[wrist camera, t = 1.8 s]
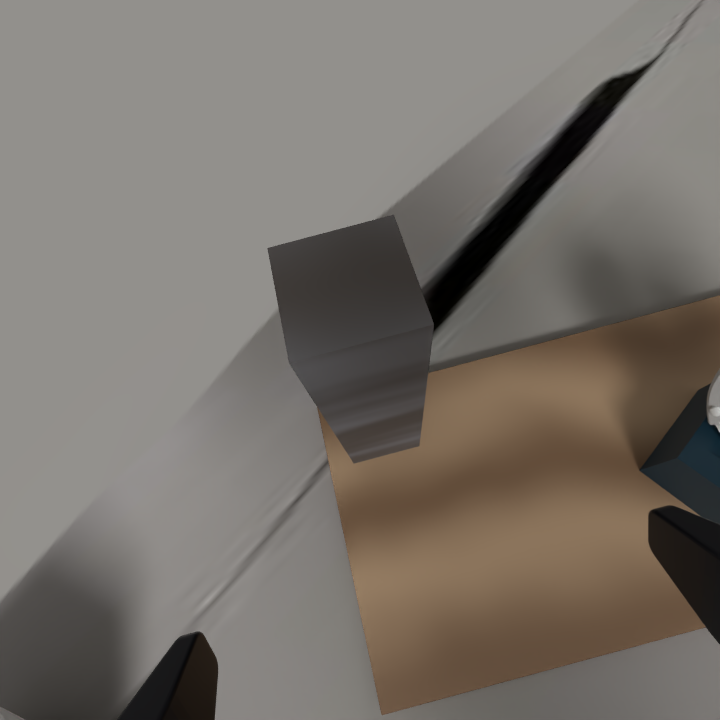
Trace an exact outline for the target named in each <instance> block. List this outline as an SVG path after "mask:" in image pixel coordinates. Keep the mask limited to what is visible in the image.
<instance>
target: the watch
mask: <svg viewBox="0 0 720 720" xmlns="http://www.w3.org/2000/svg"><path fill="white" fill-rule="evenodd" d="M639 471H640V472H642V473H643V474H644V475H646V476H647V477H648V478H650V479H651V480H653V481H654V482H655V483H657V484H658V485H659V486H661V487H662V488H663V489H665V490H666V491H667V492H669V493H670V494H671V495H673V496H674V497H675V498H677V499H678V500H680V501H681V502H682V503H684V504H685V505H686V506H688V507H689V508H690V509H692V510H693V511H694V512H696V513H697V514H698V515H700V516H701V517H703V518H706V519H708V520H711V521H713V522H716V523H718V524H720V369H719V370H718V372H717V373H716V375H715V377H714V378H713V380H712V383H710V384H708V385H706V386H705V387H703V388H701V389H699V390H698V391H697V392H696V394H695V395H694V396H693V398H692V399H691V400H690V402H689V403H688V404H687V406H686V407H685V409H684V410H683V411H682V413H681V414H680V415H679V417H678V418H677V419H676V421H675V422H674V424H673V425H672V426H671V428H670V429H669V430H668V432H667V433H666V434H665V436H664V437H663V439H662V440H661V441H660V443H659V444H658V445H657V447H656V448H655V449H654V451H653V452H652V454H651V455H650V456H649V458H648V459H647V460H646V462H645V463H644V464H643V466H642V467H641V469H640V470H639Z"/></svg>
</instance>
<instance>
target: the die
mask: <svg viewBox="0 0 720 720" xmlns="http://www.w3.org/2000/svg"><path fill="white" fill-rule="evenodd" d="M0 720H25V719H23V718H21V717H19V716H17V715H15V714H13V713H12V712H10V711H8V710H6V709H4V708H2V707H0Z"/></svg>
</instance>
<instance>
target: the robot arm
mask: <svg viewBox="0 0 720 720" xmlns="http://www.w3.org/2000/svg"><path fill="white" fill-rule="evenodd" d="M648 543H649V546H650V549H651V551H652V553H653V554H654V556H655V557H656V559H657V560H658V561H659V563H660V564H661V566H662V567H663V568H664V570H665V571H666V573H667V574H668V575H669V577H670V578H671V580H672V581H673V582H674V584H675V585H676V587H677V588H678V589H679V591H680V592H681V593H682V595H683V596H684V598H685V599H686V600H687V602H688V603H689V605H690V606H691V607H692V609H693V610H694V612H695V613H696V614H697V616H698V617H699V619H700V620H701V621H702V623H703V624H704V625H705V627H706V628H707V629H708V631H709V632H710V633H711V634H712V636H713V637H714V638H715V639H716V640H717V642H718V643H719V644H720V524H718V523H716V522H713V521H711V520H708V519H706V518H703V517H701V516H698V515H696V514H693V513H691V512H688V511H686V510H684V509H681V508H679V507H676V506H672V505H667V506H663V507H659V508H655V509H652V510H650V512H649V514H648ZM217 680H218V663H217V659H216V656H215V655H214V653H213V651H212V649H211V647H210V645H209V644H208V642H207V640H206V638H205V636H204V635H203V633H201V632H194V633H190V634H186V635H183V636H180V637H179V638H178V639H177V640H176V641H175V642H174V643H173V645H172V646H171V648H170V649H169V650H168V652H167V653H166V654H165V656H164V657H163V658H162V660H161V661H160V662H159V664H158V665H157V666H156V668H155V669H154V671H153V672H152V673H151V675H150V676H149V677H148V679H147V680H146V681H145V683H144V684H143V685H142V687H141V688H140V689H139V691H138V692H137V694H136V695H135V696H134V698H133V699H132V700H131V702H130V703H129V704H128V706H127V707H126V708H125V710H124V711H123V712H122V714H121V715H120V717H119V718H118V719H117V720H215V707H216V694H217Z"/></svg>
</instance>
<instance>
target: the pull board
mask: <svg viewBox="0 0 720 720" xmlns="http://www.w3.org/2000/svg"><path fill="white" fill-rule="evenodd" d="M268 253H269V259H270V263H271V269H272V275H273V279H274V285H275V290H276V296H277V301H278V306H279V312H280V317H281V322H282V328H283V333H284V338H285V344H286V349H287V354H288V360H289V364H290V365H291V367H292V368H293V370H294V371H295V373H296V375H297V376H298V378H299V379H300V381H301V382H302V384H303V385H304V387H305V389H306V390H307V392H308V393H309V395H310V396H311V398H312V399H313V401H314V403H315V404H316V406H317V408H318V413H319V418H320V423H321V428H322V432H323V437H324V442H325V447H326V451H327V456H328V461H329V466H330V471H331V475H332V480H333V485H334V490H335V494H336V499H337V504H338V509H339V514H340V518H341V523H342V528H343V533H344V537H345V542H346V547H347V552H348V557H349V561H350V566H351V571H352V576H353V581H354V585H355V590H356V595H357V600H358V604H359V609H360V614H361V619H362V624H363V628H364V633H365V638H366V643H367V647H368V652H369V657H370V662H371V667H372V671H373V676H374V681H375V686H376V690H377V695H378V700H379V705H380V710H381V714H382V715H384V714H388V713H391V712H395V711H399V710H403V709H406V708H410V707H414V706H417V705H421V704H425V703H428V702H432V701H436V700H439V699H443V698H447V697H450V696H454V695H458V694H462V693H465V692H469V691H473V690H476V689H480V688H484V687H487V686H491V685H495V684H498V683H502V682H506V681H509V680H513V679H517V678H520V677H524V676H528V675H532V674H535V673H539V672H543V671H546V670H550V669H554V668H557V667H561V666H565V665H568V664H572V663H576V662H579V661H583V660H587V659H590V658H594V657H598V656H602V655H605V654H609V653H613V652H616V651H620V650H624V649H627V648H631V647H635V646H638V645H642V644H646V643H649V642H653V641H657V640H660V639H664V638H668V637H672V636H675V635H679V634H683V633H686V632H690V631H694V630H697V629H701V628H705V625H704V624H703V623H702V621H701V620H700V619H699V617H698V616H697V614H696V613H695V612H694V610H693V609H692V607H691V606H690V605H689V603H688V602H687V600H686V599H685V598H684V596H683V595H682V593H681V592H680V591H679V589H678V588H677V587H676V585H675V584H674V582H673V581H672V580H671V578H670V577H669V575H668V574H667V573H666V571H665V570H664V568H663V567H662V566H661V564H660V563H659V561H658V560H657V559H656V557H655V556H654V554H653V553H652V551H651V549H650V546H649V543H648V514H649V512H650V510H652V509H655V508H659V507H663V506H667V505H672V506H676V507H679V508H681V509H684V510H686V511H688V512H691V513H693V514H696V515H698V514H697V513H696V512H694V511H693V510H692V509H690V508H689V507H688V506H686V505H685V504H684V503H682V502H681V501H680V500H678V499H677V498H675V497H674V496H673V495H671V494H670V493H669V492H667V491H666V490H665V489H663V488H662V487H661V486H659V485H658V484H657V483H655V482H654V481H653V480H651V479H650V478H648V477H647V476H646V475H644V474H643V473H642V472H640V471H639V470H640V469H641V467H642V466H643V464H644V463H645V462H646V460H647V459H648V458H649V456H650V455H651V454H652V452H653V451H654V449H655V448H656V447H657V445H658V444H659V443H660V441H661V440H662V439H663V437H664V436H665V434H666V433H667V432H668V430H669V429H670V428H671V426H672V425H673V424H674V422H675V421H676V419H677V418H678V417H679V415H680V414H681V413H682V411H683V410H684V409H685V407H686V406H687V404H688V403H689V402H690V400H691V399H692V398H693V396H694V395H695V394H696V392H697V391H698V390H699V389H701V388H703V387H705V386H706V385H708V384H710V383H712V380H713V378H714V377H715V375H716V373H717V372H718V370H719V369H720V295H719V296H716V297H712V298H708V299H704V300H701V301H697V302H693V303H689V304H686V305H682V306H678V307H674V308H671V309H667V310H663V311H659V312H656V313H652V314H648V315H644V316H641V317H637V318H633V319H629V320H626V321H622V322H618V323H614V324H611V325H607V326H603V327H599V328H596V329H592V330H588V331H584V332H581V333H577V334H573V335H569V336H566V337H562V338H558V339H554V340H551V341H547V342H543V343H539V344H536V345H532V346H528V347H524V348H521V349H517V350H513V351H509V352H506V353H502V354H498V355H494V356H491V357H487V358H483V359H479V360H476V361H472V362H468V363H464V364H461V365H457V366H453V367H449V368H446V369H442V370H438V371H434V372H431V373H428V370H429V362H430V353H431V345H432V337H433V328H434V323H433V321H432V318H431V315H430V312H429V310H428V307H427V304H426V302H425V299H424V296H423V293H422V291H421V288H420V285H419V282H418V280H417V277H416V274H415V272H414V269H413V266H412V263H411V261H410V258H409V255H408V253H407V250H406V247H405V244H404V242H403V239H402V236H401V234H400V231H399V228H398V225H397V223H396V220H395V217H394V215H391V216H387V217H384V218H380V219H376V220H372V221H368V222H365V223H361V224H357V225H354V226H350V227H346V228H342V229H339V230H334V231H331V232H327V233H323V234H319V235H316V236H312V237H308V238H304V239H301V240H297V241H293V242H289V243H285V244H281V245H278V246H274V247H270V248H268ZM698 516H700V515H698Z"/></svg>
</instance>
